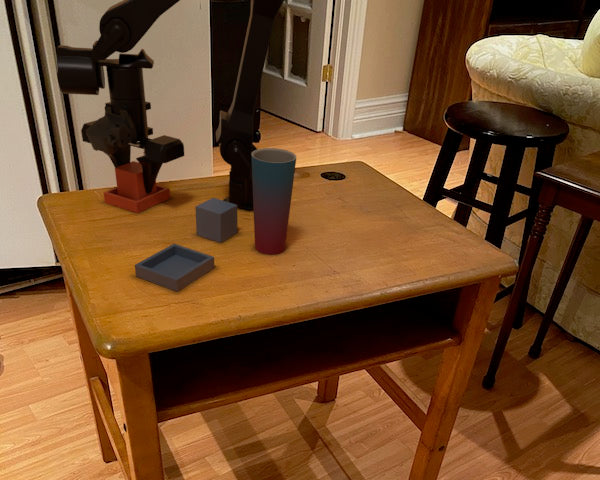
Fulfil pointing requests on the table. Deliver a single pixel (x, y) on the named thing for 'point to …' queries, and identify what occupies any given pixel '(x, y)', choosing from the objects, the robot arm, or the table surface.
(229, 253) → the table surface
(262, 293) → the table surface
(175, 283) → the blue tray
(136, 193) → the rust block
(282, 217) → the cup
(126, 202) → the rust tray
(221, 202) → the blue block
